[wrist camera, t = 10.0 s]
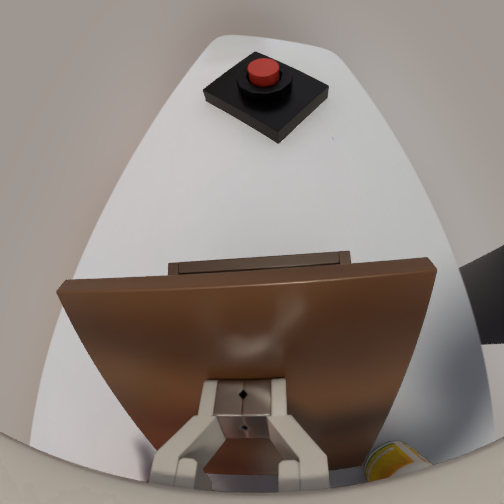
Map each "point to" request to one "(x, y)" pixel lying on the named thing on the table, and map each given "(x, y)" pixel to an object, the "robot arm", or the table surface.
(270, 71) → the button
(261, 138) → the table surface
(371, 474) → the supplement bottle
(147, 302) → the hatch
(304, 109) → the button block
